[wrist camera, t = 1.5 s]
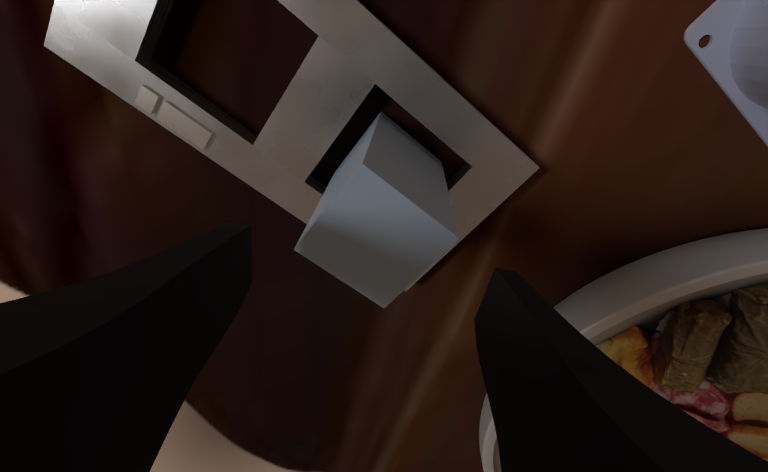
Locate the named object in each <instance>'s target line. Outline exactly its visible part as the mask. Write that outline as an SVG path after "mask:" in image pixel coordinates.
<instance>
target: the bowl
mask: <svg viewBox="0 0 768 472" xmlns="http://www.w3.org/2000/svg"><path fill="white" fill-rule="evenodd" d="M553 308H554V309H555V310H556V311H557V312H558V313H559V314H560V315H562V316H563V317H564V318H565V319H566V320H567V321H568V322H569V323H570V324H571V325H572V326H573V327H574V328H576V329H577V330H578V331H579V332H580V333H581V334H582V335H583V336H585V337H586V338H587V339H588V340H589V341H590V342H591V343H593V344H594V345H595V346H596V347H597V348H598V349H600V350H601V351H602V352H603V353H604V354H606V355H607V356H608V357H609V358H611V359H612V360H613V361H614V362H616V363H617V364H618V365H620V366H621V367H622V368H623V369H625V370H626V371H627V372H629V373H630V374H631V375H633V376H634V377H635V378H637V379H638V380H639V381H641V382H642V383H643V384H645V385H646V386H648V387H649V388H650V389H652V390H653V391H655V392H656V393H658V394H659V395H661V396H662V397H664V398H665V399H666V400H668V401H669V402H671V403H672V404H674V405H675V406H677V407H678V408H680V409H681V410H683V411H684V412H686V413H687V414H689V415H690V416H692V417H694V418H695V419H697V420H698V421H700V422H702V423H703V424H705V425H706V426H708V427H710V428H711V429H713V430H714V431H716V432H718V433H720V434H721V435H723V436H725V437H726V438H728V439H730V440H731V441H733V442H735V443H736V444H738V445H740V446H741V447H743V448H745V449H746V450H748V451H750V452H752V453H753V454H755V455H757V456H759V457H760V458H762V459H764V460H766V461H768V228H763V229H755V230H748V231H742V232H736V233H730V234H724V235H719V236H715V237H710V238H705V239H701V240H698V241H694V242H690V243H686V244H683V245H679V246H676V247H673V248H670V249H666V250H663V251H661V252H658V253H655V254H652V255H649V256H647V257H644V258H641V259H639V260H637V261H634V262H632V263H629V264H627V265H625V266H622V267H620V268H618V269H616V270H614V271H612V272H610V273H608V274H606V275H604V276H602V277H600V278H598V279H596V280H594V281H593V282H591V283H589V284H587V285H586V286H584V287H582V288H581V289H579V290H577V291H576V292H574V293H573V294H571V295H570V296H568V297H567V298H565V299H564V300H562V301H561V302H560V303H558V304H557V305H556V306H554V307H553ZM479 443H480V452H481V459H482V465H483V470H484V472H501V464H500V457H499V449H498V441H497V436H496V431H495V425H494V421H493V416H492V412H491V408H490V404H489V399H488V395H487V393H486V396H485V399H484V403H483V407H482V412H481V418H480V428H479Z"/></svg>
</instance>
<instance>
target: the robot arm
mask: <svg viewBox="0 0 768 472" xmlns="http://www.w3.org/2000/svg"><path fill="white" fill-rule="evenodd" d="M704 35H709V36H710V42H709V44H708V45H707V46H706V47H704V48H700V47H699V45H698V43H699V40H700V39H701V38H702V37H703V36H704ZM684 41H685V44H686V45H687V46H688V47H689V49H690V50H691V51H692V52H693V54H694V55H695V56H696V58H697V59H698V60H699V61H700V63H701V64H702V65H703V66H704V68H705V69H706V70H707V71H708V73H709V74H710V75H711V76H712V78H713V79H714V80H715V81H716V83H717V84H718V85H719V86H720V88H721V89H722V90H723V91H724V93H725V94H726V95H727V96H728V98H729V99H730V100H731V102H732V103H733V104H734V105H735V107H736V108H737V109H738V110H739V112H740V113H741V114H742V115H743V117H744V118H745V119H746V120H747V122H748V123H749V124H750V125H751V127H752V128H753V129H754V130H755V132H756V133H757V134H758V135H759V137H760V138H761V139H762V140H763V142H764V143H765V144H766V145H767V147H768V0H716V1H715V2H714V3H713V4H712V5H711V6H710V7H709V8H708V9H707V10H706V11H704V12H703V13H702V14H701V15H700V16H699V17H698V18H697V19H696V20H695V21H694V22H693V23H692V24H690V26H689V27H688V28H687V29H686V31H685V34H684ZM251 283H252V255H251V225H245V224H239V223H234V222H228V223H225V224H223V225H220V226H218V227H216V228H213V229H211V230H209V231H207V232H205V233H202V234H200V235H198V236H196V237H194V238H192V239H189V240H187V241H185V242H183V243H180V244H178V245H176V246H174V247H172V248H169V249H167V250H165V251H162V252H160V253H158V254H155V255H153V256H150V257H148V258H145V259H143V260H140V261H138V262H136V263H133V264H131V265H128V266H126V267H123V268H120V269H117V270H115V271H112V272H109V273H106V274H103V275H100V276H97V277H94V278H91V279H88V280H85V281H82V282H79V283H75V284H72V285H69V286H65V287H61V288H58V289H54V290H50V291H46V292H43V293H39V294H35V295H31V296H28V297H24V298H20V299H16V300H12V301H8V302H4V303H0V472H150V469H151V467H152V465H153V463H154V461H155V459H156V457H157V455H158V452H159V450H160V448H161V446H162V444H163V442H164V440H165V438H166V436H167V434H168V431H169V429H170V427H171V425H172V423H173V421H174V419H175V417H176V415H177V413H178V411H179V409H180V408H181V406H182V404H183V402H184V400H185V398H186V396H187V394H188V392H189V390H190V388H191V386H192V385H193V383H194V381H195V380H196V378H197V376H198V375H199V373H200V371H201V370H202V368H203V367H204V365H205V364H206V362H207V360H208V359H209V357H210V356H211V354H212V353H213V351H214V349H215V348H216V346H217V345H218V343H219V342H220V340H221V339H222V337H223V335H224V334H225V332H226V331H227V329H228V328H229V326H230V324H231V323H232V321H233V320H234V318H235V316H236V315H237V313H238V311H239V310H240V307H241V305H242V303H243V301H244V299H245V297H246V295H247V292H248V290H249V288H250V285H251ZM475 332H476V343H477V351H478V356H479V361H480V365H481V369H482V374H483V378H484V382H485V387H486V391H487V395H488V399H489V404H490V408H491V412H492V416H493V421H494V425H495V431H496V436H497V441H498V449H499V457H500V464H501V472H768V461H766V460H764V459H762V458H760V457H759V456H757V455H755V454H753V453H752V452H750V451H748V450H746V449H745V448H743V447H741V446H740V445H738V444H736V443H735V442H733V441H731V440H730V439H728V438H726V437H725V436H723V435H721V434H720V433H718V432H716V431H714V430H713V429H711V428H710V427H708V426H706V425H705V424H703V423H702V422H700V421H698V420H697V419H695V418H694V417H692V416H690V415H689V414H687V413H686V412H684V411H683V410H681V409H680V408H678V407H677V406H675V405H674V404H672V403H671V402H669V401H668V400H666V399H665V398H664V397H662V396H661V395H659V394H658V393H656V392H655V391H653V390H652V389H650V388H649V387H648V386H646V385H645V384H643V383H642V382H641V381H639V380H638V379H637V378H635V377H634V376H633V375H631V374H630V373H629V372H627V371H626V370H625V369H623V368H622V367H621V366H620V365H618V364H617V363H616V362H614V361H613V360H612V359H611V358H609V357H608V356H607V355H606V354H604V353H603V352H602V351H601V350H600V349H598V348H597V347H596V346H595V345H594V344H593V343H591V342H590V341H589V340H588V339H587V338H586V337H585V336H583V335H582V334H581V333H580V332H579V331H578V330H577V329H576V328H574V327H573V326H572V325H571V324H570V323H569V322H568V321H567V320H566V319H565V318H564V317H563V316H562V315H560V314H559V313H558V312H557V311H556V310H555V309H554V308H553V307H552V306H551V305H550V304H549V303H548V302H547V301H546V300H545V299H544V298H543V297H542V296H541V295H540V294H539V293H538V292H537V291H536V290H535V289H534V288H533V287H532V286H531V285H530V284H529V283H527V282H526V281H525V280H524V279H523V278H522V277H521V276H520V275H519V274H517V273H516V272H514V271H508V270H502V269H497V268H495V269H494V272H493V274H492V277H491V279H490V282H489V284H488V287H487V290H486V292H485V295H484V297H483V300H482V302H481V305H480V307H479V310H478V312H477V315H476V317H475Z"/></svg>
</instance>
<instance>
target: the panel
mask: <svg viewBox="0 0 768 472" xmlns="http://www.w3.org/2000/svg"><path fill="white" fill-rule="evenodd" d="M278 1H279V2H280V3H281V4H282V5H284V6H285V7H286V8H287V9H288V10H289V11H291V12H292V13H293V14H294V15H295V16H296V17H298V18H299V19H300V20H301V21H302V22H303V23H305V24H306V25H307V26H308V27H309V28H311V29H312V30H313V31H314V32H315V33H316V34H318V35H319V37H318V38H317V40H316V42H315V43H314V45H313V47H312V48H311V50H310V52H309V53H308V55H307V56H306V58H305V60H304V61H303V63H302V65H301V66H300V68H299V70H298V71H297V73H296V75H295V76H294V78H293V80H292V81H291V83H290V85H289V86H288V88H287V90H286V91H285V93H284V94H283V96H282V98H281V99H280V101H279V103H278V104H277V106H276V108H275V109H274V111H273V113H272V114H271V116H270V118H269V119H268V121H267V123H266V124H265V126H264V128H263V129H262V131H261V132H260V134H259V136H257V135H255V134H254V133H253V132H251V131H250V130H249V129H247V128H246V127H244V126H243V125H242V124H240V123H239V122H238V121H236V120H235V119H233V118H232V117H231V116H229V115H228V114H227V113H225V112H224V111H222V110H221V109H220V108H218V107H217V106H215V105H214V104H213V103H211V102H210V101H209V100H207V99H206V98H204V97H203V96H202V95H200V94H199V93H198V92H196V91H195V90H193V89H192V88H191V87H189V86H188V85H187V84H185V83H184V82H182V81H181V80H180V79H178V78H177V77H176V76H174V75H173V74H171V73H170V72H169V71H167V70H166V69H164V68H163V67H162V66H160V65H159V64H158V63H156V62H155V61H153V60H152V59H151V58H152V56H153V53H154V51H155V48H156V46H157V43H158V41H159V38H160V36H161V33H162V31H163V28H164V26H165V23H166V21H167V18H168V16H169V13H170V11H171V8H172V5H173V3H174V0H55V2H54V6H53V10H52V14H51V18H50V22H49V26H48V30H47V34H46V38H45V42H44V46H45V47H47V48H48V49H50V50H51V51H53V52H54V53H56V54H57V55H59V56H60V57H62V58H63V59H65V60H66V61H67V62H69V63H70V64H72V65H73V66H75V67H76V68H78V69H79V70H81V71H82V72H84V73H85V74H87V75H88V76H90V77H91V78H92V79H94V80H95V81H97V82H98V83H100V84H101V85H103V86H104V87H106V88H107V89H109V90H110V91H112V92H113V93H115V94H116V95H118V96H119V97H120V98H122V99H123V100H125V101H126V102H128V103H129V104H131V105H132V106H134V107H135V108H137V109H138V110H140V111H141V112H143V113H144V114H145V115H147V116H148V117H150V118H151V119H153V120H154V121H156V122H157V123H159V124H160V125H162V126H163V127H165V128H166V129H168V130H169V131H171V132H172V133H173V134H175V135H176V136H178V137H179V138H181V139H182V140H184V141H185V142H187V143H188V144H190V145H191V146H193V147H194V148H196V149H197V150H198V151H200V152H201V153H203V154H204V155H206V156H207V157H209V158H210V159H212V160H213V161H215V162H216V163H218V164H219V165H221V166H222V167H224V168H225V169H226V170H228V171H229V172H231V173H232V174H234V175H235V176H237V177H238V178H240V179H241V180H243V181H244V182H246V183H247V184H249V185H250V186H251V187H253V188H254V189H256V190H257V191H259V192H260V193H262V194H263V195H265V196H266V197H268V198H269V199H271V200H272V201H274V202H275V203H276V204H278V205H279V206H281V207H282V208H284V209H285V210H287V211H288V212H290V213H291V214H293V215H294V216H296V217H297V218H299V219H300V220H302V221H303V222H304V223H306V224H308V222H309V220H310V218H311V217H312V215H313V213H314V211H315V209H316V207H317V205H318V203H319V201H320V199H321V198H322V196H323V194H324V192H325V190H326V188H327V186H326V185H324V184H323V183H322V182H320V181H319V180H318V179H316V178H315V177H313V176H312V175H311V174H310V173H311V172H312V171H313V169H314V168H315V166H316V165H317V164H318V162H319V161H320V159H321V158H322V157H323V155H324V154H325V153H326V151H327V150H328V148H329V147H330V146H331V144H332V143H333V142H334V140H335V139H336V137H337V136H338V135H339V133H340V132H341V131H342V129H343V128H344V126H345V125H346V124H347V122H348V121H349V119H350V118H351V117H352V115H353V114H354V113H355V111H356V110H357V108H358V107H359V106H360V104H361V103H362V102H363V100H364V99H365V97H366V96H367V95H368V93H369V92H370V90H371V89H372V88H373V86H374V85H375V84H376V85H377V86H378V87H380V88H381V89H382V90H383V91H384V92H385V93H387V94H388V95H389V96H390V97H391V98H392V99H394V100H395V101H396V102H397V103H398V104H399V105H401V106H402V107H403V108H404V109H405V110H407V111H408V112H409V113H410V114H411V115H412V116H414V117H415V118H416V119H417V120H418V121H419V122H421V123H422V124H423V125H424V126H425V127H426V128H428V129H429V130H430V131H431V132H432V133H433V134H435V135H436V136H437V137H438V138H439V139H440V140H442V141H443V142H444V143H445V144H446V145H447V146H449V147H450V148H451V149H452V150H453V151H455V152H456V153H457V154H458V155H459V156H460V157H462V158H463V159H464V160H465V161H466V163H465V164H464V165H463V166H462V167H461V168H460V169H459V170H458V171H457V172H456V173H455V174H454V175H453V176H452V177H451V179H450V180H449V181H448V182H447V183H446V184H447V188H448V192H449V196H450V201H451V205H452V209H453V213H454V218H455V222H456V226H457V230H458V235H459V239H458V240H457V241H456V242H455V243H454V244H453V245H452V246H451V247H450V248H449V249H448V250H447V251H445V252H444V253H443V254H442V255H441V256H440V257H439V258H438V259H437V260H436V261H435V262H434V263H433V264H431V265H430V266H429V267H428V268H427V269H426V270H425V271H424V272H423V273H422V274H421V275H420V276H419V277H418V278H416V279H415V280H414V281H413V282H412V283H411V284H410V285H409V286H408V287H407V288H406V289H405V291H407V290H408V289H409V288H410V287H411V286H412V285H414V284H415V283H416V282H417V281H418V280H419V279H420V278H421V277H422V276H423V275H424V274H425V273H427V272H428V271H429V270H430V269H431V268H432V267H433V266H434V265H435V264H436V263H437V262H438V261H439V260H441V259H442V258H443V257H444V256H445V255H446V254H447V253H448V252H449V251H450V250H451V249H452V248H454V247H455V246H456V245H457V244H458V243H459V242H460V241H461V240H462V239H463V238H464V237H465V236H467V235H468V234H469V233H470V232H471V231H472V230H473V229H474V228H475V227H476V226H477V225H478V224H479V223H481V222H482V221H483V220H484V219H485V218H486V217H487V216H488V215H489V214H490V213H491V212H492V211H494V210H495V209H496V208H497V207H498V206H499V205H500V204H501V203H502V202H503V201H504V200H505V199H507V198H508V197H509V196H510V195H511V194H512V193H513V192H514V191H515V190H516V189H517V188H518V187H520V186H521V185H522V184H523V183H524V182H525V181H526V180H527V179H528V178H529V177H530V176H531V175H532V174H534V173H535V172H536V171H537V170H538V169H539V167H538V166H537V164H536V163H535V162H534V161H533V160H532V159H531V158H530V157H529V156H527V155H526V154H525V153H524V152H523V151H522V150H521V149H520V148H519V147H518V146H517V145H515V144H514V143H513V142H512V141H511V140H510V139H509V138H508V137H507V136H506V135H505V134H503V133H502V132H501V131H500V130H499V129H498V128H497V127H496V126H495V125H494V124H493V123H491V122H490V121H489V120H488V119H487V118H486V117H485V116H484V115H483V114H482V113H481V112H479V111H478V110H477V109H476V108H475V107H474V106H473V105H472V104H471V103H470V102H469V101H467V100H466V99H465V98H464V97H463V96H462V95H461V94H460V93H459V92H458V91H457V90H456V89H454V88H453V87H452V86H451V85H450V84H449V83H448V82H447V81H446V80H445V79H444V78H442V77H441V76H440V75H439V74H438V73H437V72H436V71H435V70H434V69H433V68H432V67H430V66H429V65H428V64H427V63H426V62H425V61H424V60H423V59H422V58H421V57H420V56H418V55H417V54H416V53H415V52H414V51H413V50H412V49H411V48H410V47H409V46H408V45H406V44H405V43H404V42H403V41H402V40H401V39H400V38H399V37H398V36H397V35H396V34H394V33H393V32H392V31H391V30H390V29H389V28H388V27H387V26H386V25H385V24H384V23H383V22H381V21H380V20H379V19H378V18H377V17H376V16H375V15H374V14H373V13H372V12H371V11H369V10H368V9H367V8H366V7H365V6H364V5H363V4H362V3H361V2H360V1H359V0H278Z"/></svg>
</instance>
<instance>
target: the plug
mask: <svg viewBox="0 0 768 472" xmlns="http://www.w3.org/2000/svg"><path fill="white" fill-rule="evenodd" d="M458 239H459V235H458V230H457V226H456V222H455V218H454V213H453V209H452V205H451V201H450V196H449V192H448V188H447V184H446V179H445V175H444V171H443V167H442V162H441V161H440V160H439V159H438V158H437V157H435V156H434V155H433V154H432V153H431V152H429V151H428V150H427V149H426V148H425V147H423V146H422V145H421V144H420V143H419V142H417V141H416V140H415V139H414V138H413V137H411V136H410V135H409V134H408V133H407V132H405V131H404V130H403V129H402V128H401V127H399V126H398V125H397V124H396V123H395V122H393V121H392V120H391V119H390V118H389V117H387V116H386V115H385V114H384V113H383V112H380V113H379V115H378V116H377V117H376V119H375V120H374V121H373V123H372V124H371V125H370V126H369V128H368V129H367V130H366V132H365V133H364V134H363V136H362V137H361V138H360V140H359V141H358V142H357V144H356V145H355V146H354V147H353V149H352V150H351V151H350V153H349V154H348V155H347V157H346V158H345V159H344V161H343V162H342V163H341V165H340V166H339V167H338V168H337V170H336V171H335V173H334V175H333V177H332V179H331V181H330V182H329V184H328V186H327V188H326V190H325V192H324V194H323V196H322V198H321V199H320V201H319V203H318V205H317V207H316V209H315V211H314V213H313V215H312V217H311V218H310V220H309V222H308V224H307V226H306V228H305V230H304V232H303V234H302V236H301V237H300V239H299V241H298V243H297V245H296V247H295V249H294V250H295V251H297V252H298V253H300V254H301V255H303V256H304V257H306V258H307V259H309V260H311V261H312V262H314V263H315V264H317V265H318V266H320V267H321V268H323V269H324V270H326V271H327V272H329V273H330V274H332V275H334V276H335V277H337V278H338V279H340V280H341V281H343V282H344V283H346V284H347V285H349V286H350V287H352V288H354V289H355V290H357V291H358V292H360V293H361V294H363V295H364V296H366V297H367V298H369V299H370V300H372V301H374V302H375V303H377V304H378V305H380V306H381V307H383V308H385V307H386V306H387V305H389V304H390V303H391V302H392V301H393V300H394V299H395V298H396V297H397V296H398V295H399V294H400V293H401V292H402V291H404V290H405V289H406V288H407V287H408V286H409V285H410V284H411V283H412V282H413V281H414V280H415V279H416V278H418V277H419V276H420V275H421V274H422V273H423V272H424V271H425V270H426V269H427V268H428V267H429V266H430V265H431V264H433V263H434V262H435V261H436V260H437V259H438V258H439V257H440V256H441V255H442V254H443V253H444V252H445V251H447V250H448V249H449V248H450V247H451V246H452V245H453V244H454V243H455V242H456V241H457V240H458Z"/></svg>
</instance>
